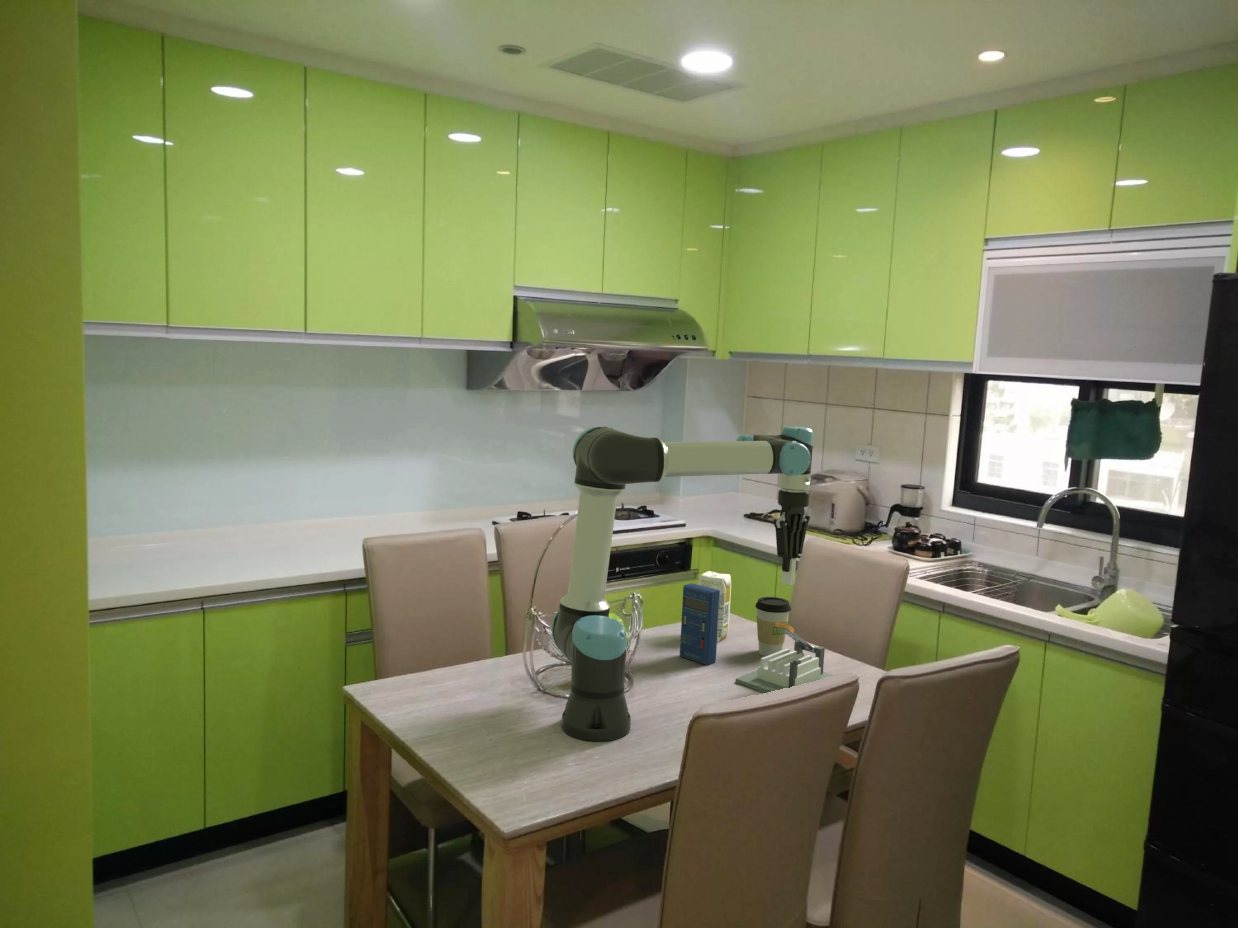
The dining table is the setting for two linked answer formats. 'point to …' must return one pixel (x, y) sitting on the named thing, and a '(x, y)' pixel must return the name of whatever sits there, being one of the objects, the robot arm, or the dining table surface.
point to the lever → (795, 637)
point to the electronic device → (699, 623)
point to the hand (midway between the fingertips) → (787, 583)
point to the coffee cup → (771, 623)
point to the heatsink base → (786, 670)
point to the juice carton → (724, 586)
